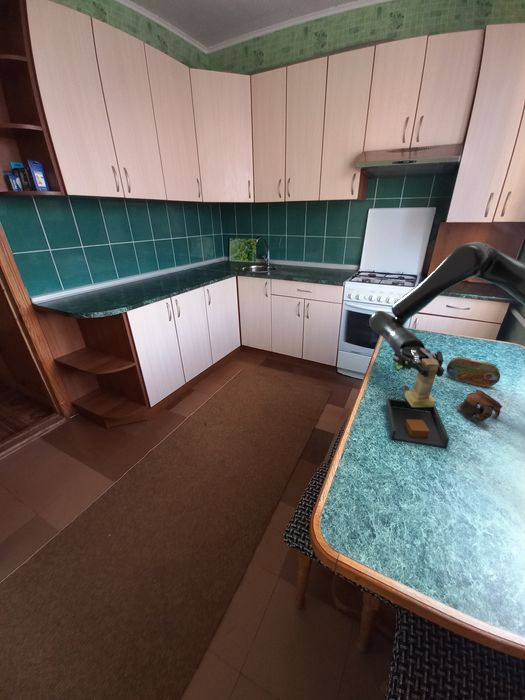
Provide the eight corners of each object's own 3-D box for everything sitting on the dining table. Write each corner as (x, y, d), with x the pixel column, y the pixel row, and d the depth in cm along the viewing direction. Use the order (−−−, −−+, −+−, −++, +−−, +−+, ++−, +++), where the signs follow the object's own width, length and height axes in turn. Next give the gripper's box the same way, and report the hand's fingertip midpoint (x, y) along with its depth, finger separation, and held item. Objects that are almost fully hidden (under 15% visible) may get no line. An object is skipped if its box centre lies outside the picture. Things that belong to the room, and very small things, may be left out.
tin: (443, 377, 104) (450, 356, 100) (444, 373, 107) (451, 353, 103) (495, 390, 97) (504, 368, 93) (495, 386, 99) (503, 364, 95)
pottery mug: (450, 403, 92) (469, 383, 89) (478, 421, 90) (498, 401, 87) (463, 419, 80) (485, 396, 78) (495, 439, 79) (519, 417, 76)
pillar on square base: (425, 395, 84) (436, 356, 77) (434, 407, 79) (447, 366, 73) (404, 396, 84) (414, 356, 78) (412, 407, 79) (423, 366, 73)
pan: (446, 448, 75) (449, 439, 73) (391, 439, 78) (393, 430, 76) (424, 393, 96) (426, 385, 94) (382, 388, 99) (383, 380, 97)
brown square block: (420, 426, 81) (422, 419, 80) (427, 437, 77) (429, 431, 76) (404, 425, 81) (406, 419, 80) (410, 437, 77) (412, 430, 76)
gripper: (384, 333, 87) (410, 361, 72) (430, 332, 87) (466, 360, 72) (379, 354, 91) (403, 386, 75) (424, 354, 91) (457, 385, 75)
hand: (434, 373), depth 74 cm, fingers closed on pillar on square base, 3 cm apart
